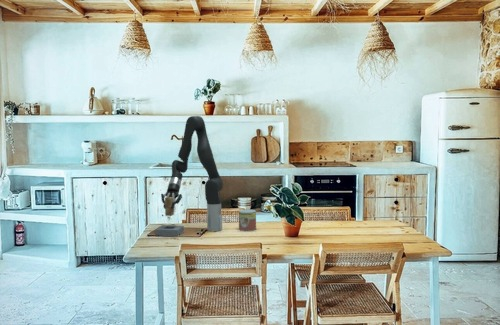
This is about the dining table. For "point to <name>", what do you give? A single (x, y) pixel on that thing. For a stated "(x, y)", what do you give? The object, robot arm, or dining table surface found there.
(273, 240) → the dining table surface
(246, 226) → the canned food
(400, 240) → the dining table surface
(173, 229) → the charcoal well block
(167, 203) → the walnut post
